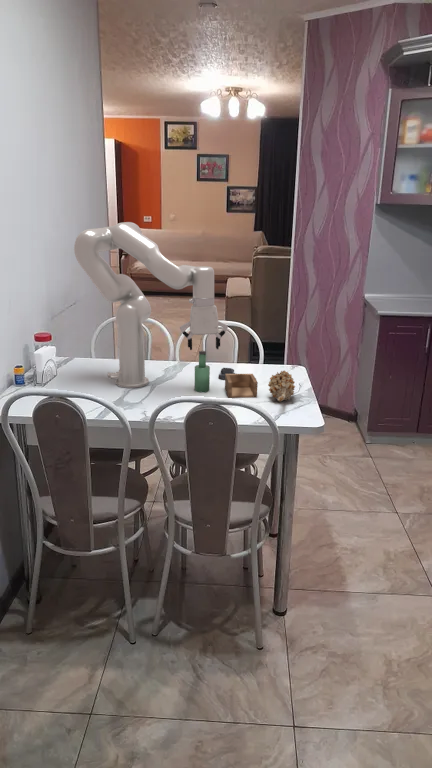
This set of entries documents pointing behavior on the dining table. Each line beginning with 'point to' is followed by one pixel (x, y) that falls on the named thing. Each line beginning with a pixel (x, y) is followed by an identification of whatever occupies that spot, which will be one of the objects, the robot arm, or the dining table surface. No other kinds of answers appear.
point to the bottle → (202, 374)
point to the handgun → (225, 371)
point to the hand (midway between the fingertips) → (204, 348)
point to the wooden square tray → (241, 385)
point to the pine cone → (282, 386)
